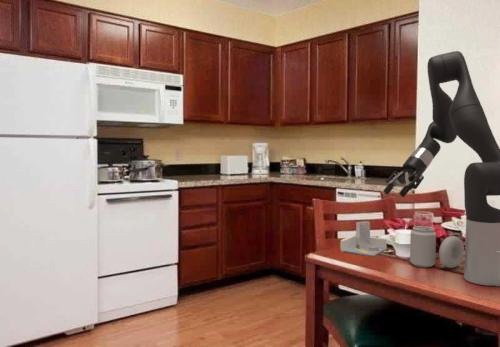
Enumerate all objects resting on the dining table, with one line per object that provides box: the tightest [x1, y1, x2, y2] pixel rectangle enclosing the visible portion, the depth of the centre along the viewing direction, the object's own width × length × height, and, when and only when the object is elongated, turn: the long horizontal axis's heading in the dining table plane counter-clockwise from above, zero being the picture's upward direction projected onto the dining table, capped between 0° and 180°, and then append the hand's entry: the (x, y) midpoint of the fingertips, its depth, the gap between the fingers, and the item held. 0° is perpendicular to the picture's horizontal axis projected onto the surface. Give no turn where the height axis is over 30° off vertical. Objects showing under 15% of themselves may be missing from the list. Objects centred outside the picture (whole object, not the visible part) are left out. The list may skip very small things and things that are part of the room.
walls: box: [339, 234, 388, 253], centre depth 152 cm, size 12×12×4 cm
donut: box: [438, 235, 465, 269], centre depth 130 cm, size 10×4×10 cm, turn 121°
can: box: [409, 225, 437, 268], centre depth 134 cm, size 8×8×12 cm
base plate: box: [343, 245, 386, 258], centre depth 151 cm, size 11×11×1 cm
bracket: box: [355, 220, 379, 253], centre depth 151 cm, size 7×4×10 cm, turn 22°
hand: (393, 194), depth 154 cm, fingers open, 8 cm apart
